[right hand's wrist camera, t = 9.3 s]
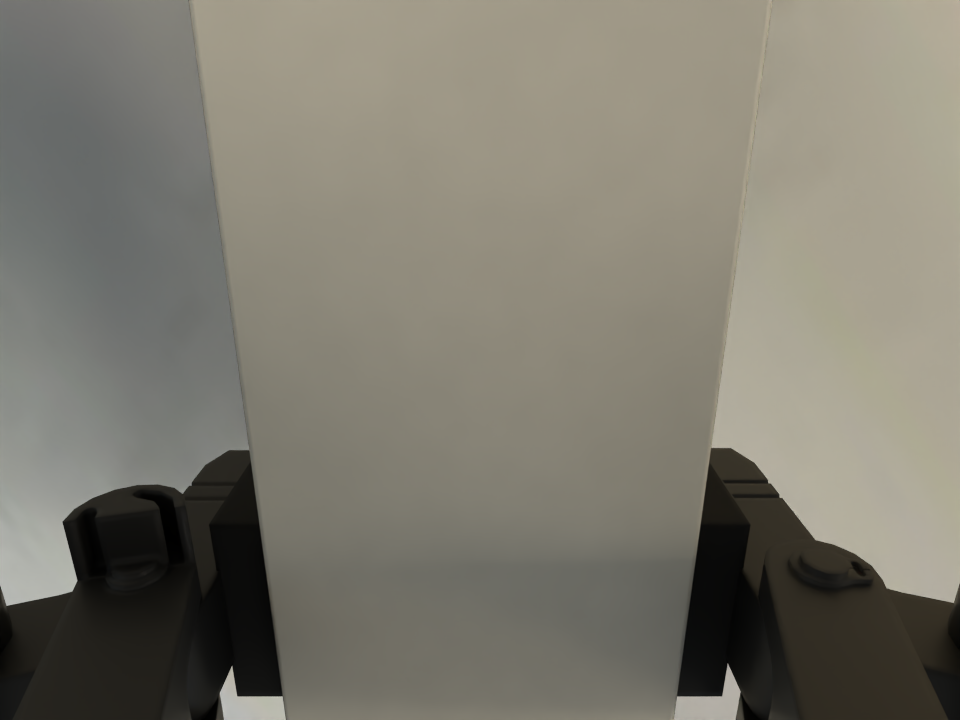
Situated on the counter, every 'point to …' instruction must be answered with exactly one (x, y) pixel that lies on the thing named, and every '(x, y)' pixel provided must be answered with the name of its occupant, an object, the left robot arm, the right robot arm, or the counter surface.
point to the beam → (480, 335)
